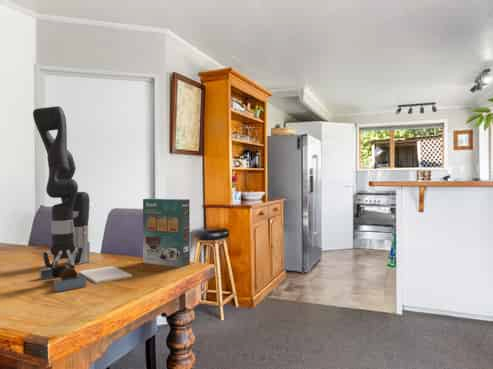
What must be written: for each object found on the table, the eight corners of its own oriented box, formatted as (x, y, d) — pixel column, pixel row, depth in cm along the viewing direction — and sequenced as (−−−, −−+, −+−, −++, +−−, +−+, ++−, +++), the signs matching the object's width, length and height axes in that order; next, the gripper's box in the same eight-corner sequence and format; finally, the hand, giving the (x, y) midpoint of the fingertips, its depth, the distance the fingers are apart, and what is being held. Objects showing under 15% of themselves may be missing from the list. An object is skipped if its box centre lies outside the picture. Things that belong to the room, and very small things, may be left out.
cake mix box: (189, 264, 164) (189, 199, 164) (182, 267, 159) (181, 199, 159) (151, 260, 173) (151, 198, 173) (143, 262, 168) (143, 199, 168)
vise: (62, 271, 151) (62, 263, 151) (86, 286, 129) (86, 276, 129) (36, 275, 145) (36, 266, 145) (55, 292, 122) (55, 282, 122)
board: (112, 267, 157) (112, 266, 157) (131, 276, 142) (131, 274, 142) (78, 273, 148) (78, 271, 148) (95, 283, 133) (95, 281, 133)
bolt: (59, 278, 141) (71, 285, 130) (47, 274, 138) (58, 281, 127) (67, 264, 143) (80, 270, 132) (55, 260, 140) (67, 265, 129)
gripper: (79, 229, 142) (79, 271, 143) (38, 232, 133) (39, 278, 133) (85, 231, 137) (86, 275, 137) (43, 234, 127) (44, 282, 127)
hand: (63, 276), depth 135 cm, fingers closed on bolt, 5 cm apart
